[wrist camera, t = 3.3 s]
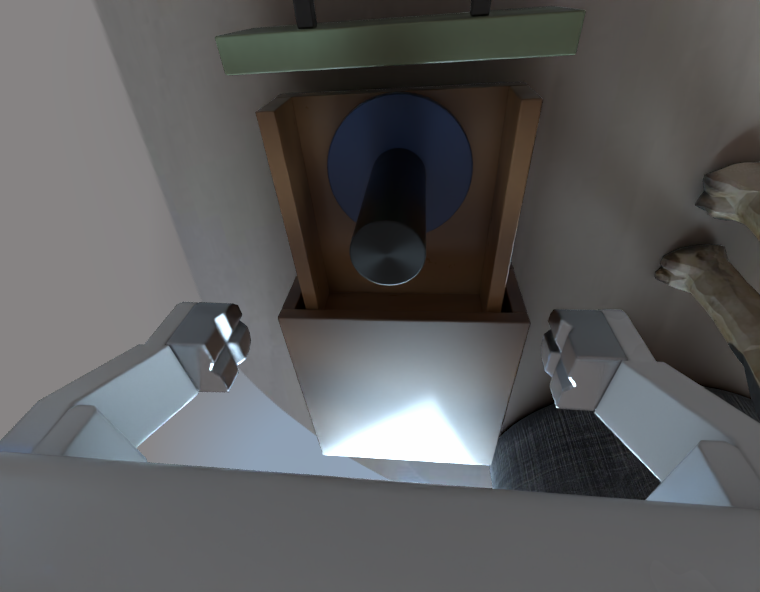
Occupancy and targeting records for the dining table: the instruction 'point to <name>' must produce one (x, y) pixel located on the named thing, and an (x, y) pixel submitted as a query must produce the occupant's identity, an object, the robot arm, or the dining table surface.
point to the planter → (577, 455)
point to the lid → (397, 180)
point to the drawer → (407, 47)
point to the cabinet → (407, 377)
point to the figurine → (725, 267)
